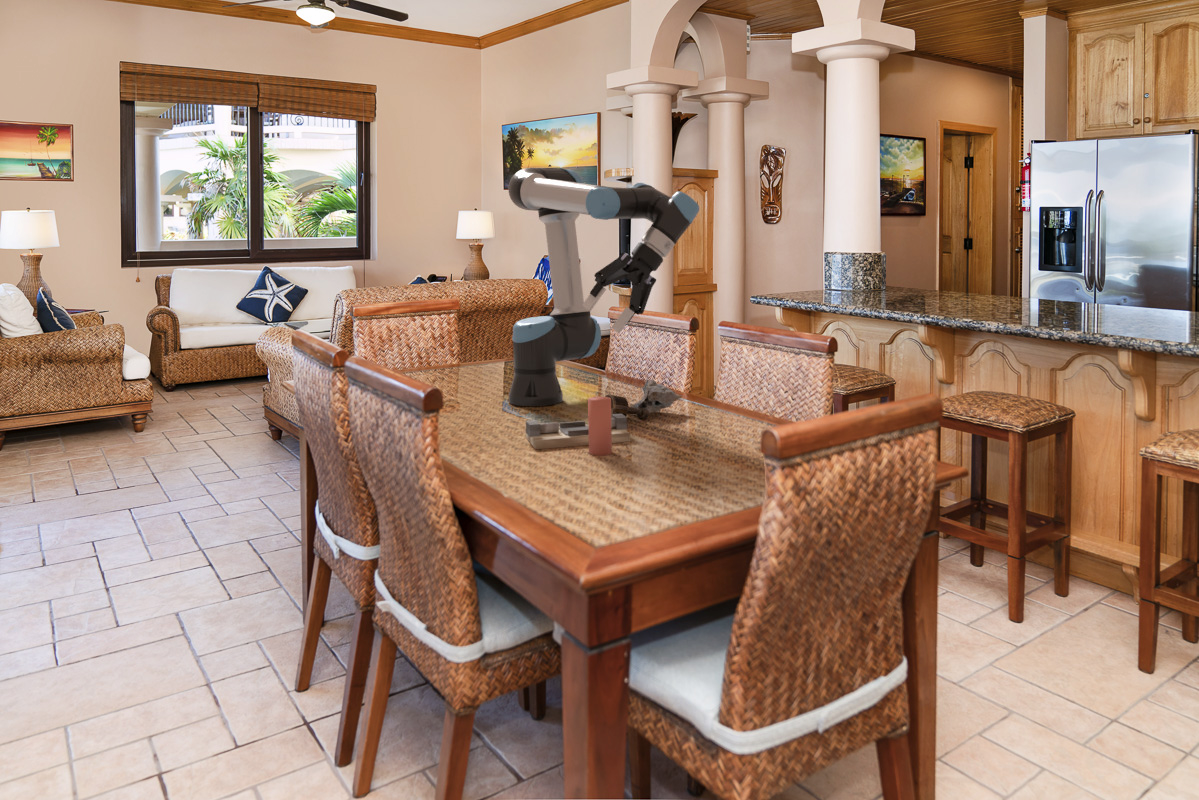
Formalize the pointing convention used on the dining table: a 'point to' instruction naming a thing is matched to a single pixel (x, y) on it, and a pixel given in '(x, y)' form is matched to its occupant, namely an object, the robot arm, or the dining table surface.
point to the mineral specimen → (656, 397)
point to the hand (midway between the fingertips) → (600, 319)
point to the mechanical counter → (625, 407)
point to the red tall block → (599, 425)
